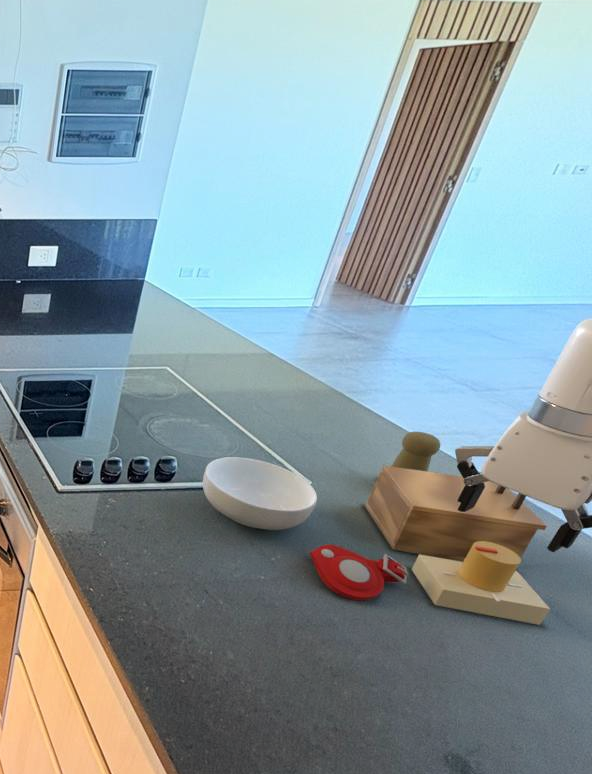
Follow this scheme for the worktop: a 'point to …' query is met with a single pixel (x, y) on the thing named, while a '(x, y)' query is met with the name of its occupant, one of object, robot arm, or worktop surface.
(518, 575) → the lock plate
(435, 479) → the hinged box cover
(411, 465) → the cork
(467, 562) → the lock knob
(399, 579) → the tracker holder
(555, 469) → the robot arm
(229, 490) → the cereal bowl
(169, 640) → the worktop surface
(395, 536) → the chest
